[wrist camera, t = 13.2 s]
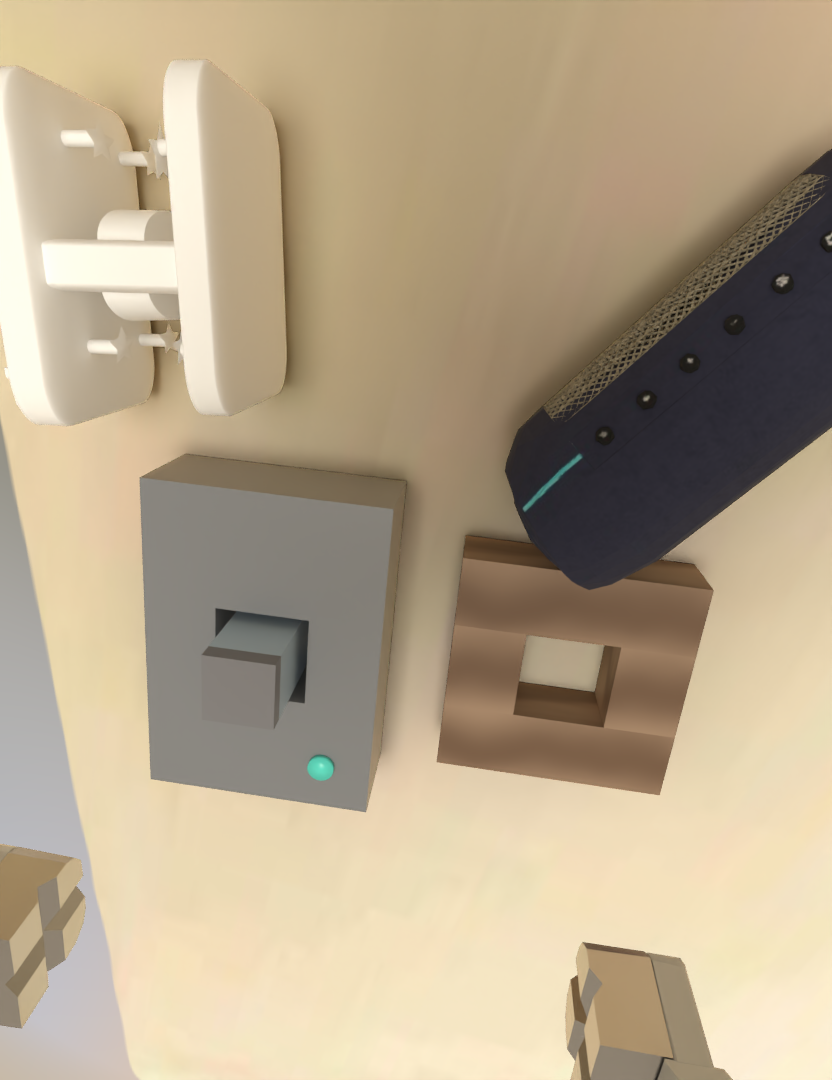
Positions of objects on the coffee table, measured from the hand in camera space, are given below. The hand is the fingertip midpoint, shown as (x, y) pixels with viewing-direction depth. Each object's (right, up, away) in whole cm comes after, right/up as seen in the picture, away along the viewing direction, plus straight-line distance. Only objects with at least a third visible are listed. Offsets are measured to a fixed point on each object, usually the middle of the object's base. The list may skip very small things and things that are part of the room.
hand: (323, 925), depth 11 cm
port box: (-7, +1, +36) cm, 36 cm away
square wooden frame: (+11, -1, +34) cm, 36 cm away
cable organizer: (-11, +22, +29) cm, 38 cm away
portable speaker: (+17, +16, +28) cm, 37 cm away
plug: (-7, +1, +36) cm, 36 cm away
